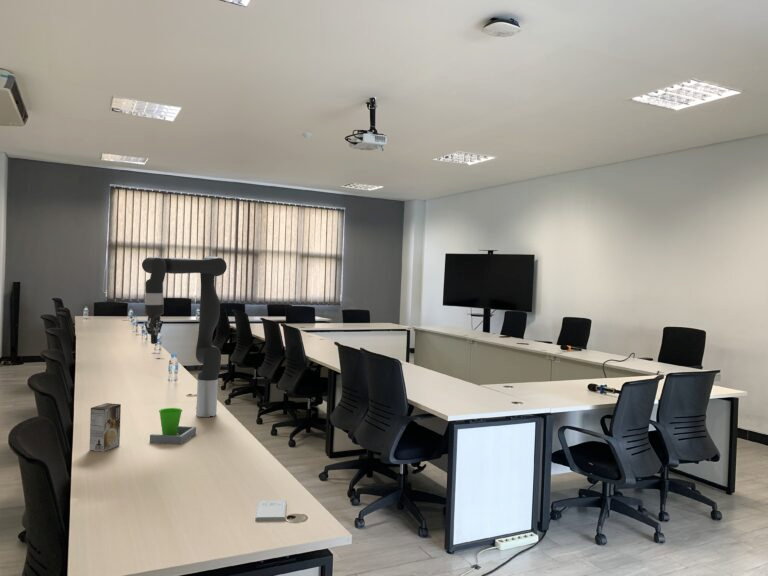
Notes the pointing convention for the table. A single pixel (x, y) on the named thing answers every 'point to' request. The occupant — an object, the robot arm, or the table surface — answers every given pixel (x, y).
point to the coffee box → (105, 427)
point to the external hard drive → (271, 510)
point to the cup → (170, 420)
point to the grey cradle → (173, 439)
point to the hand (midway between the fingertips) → (154, 343)
